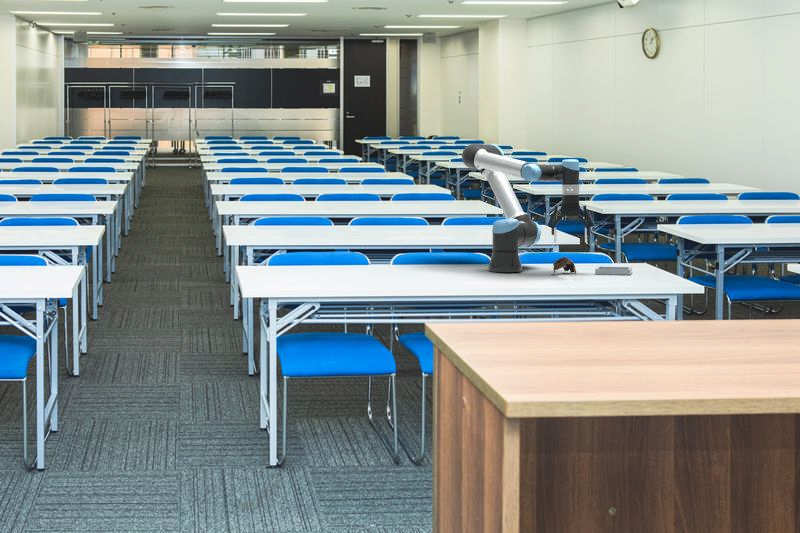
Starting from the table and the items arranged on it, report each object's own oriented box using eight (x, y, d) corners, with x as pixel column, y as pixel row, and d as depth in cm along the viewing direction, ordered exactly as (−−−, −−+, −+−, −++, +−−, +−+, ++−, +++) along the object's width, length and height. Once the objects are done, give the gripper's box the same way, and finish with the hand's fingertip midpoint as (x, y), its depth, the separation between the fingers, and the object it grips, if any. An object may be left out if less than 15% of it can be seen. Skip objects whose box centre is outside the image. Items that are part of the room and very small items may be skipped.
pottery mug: (578, 274, 472) (569, 258, 471) (558, 284, 475) (550, 268, 473) (577, 266, 484) (569, 251, 482) (558, 276, 486) (550, 260, 485)
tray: (595, 274, 471) (595, 269, 471) (597, 272, 487) (597, 266, 487) (630, 275, 468) (630, 269, 467) (631, 272, 483) (631, 267, 483)
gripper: (541, 194, 475) (541, 242, 476) (598, 194, 469) (598, 242, 470) (543, 194, 482) (543, 242, 484) (599, 194, 476) (599, 242, 477)
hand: (570, 242), depth 477 cm, fingers open, 13 cm apart
